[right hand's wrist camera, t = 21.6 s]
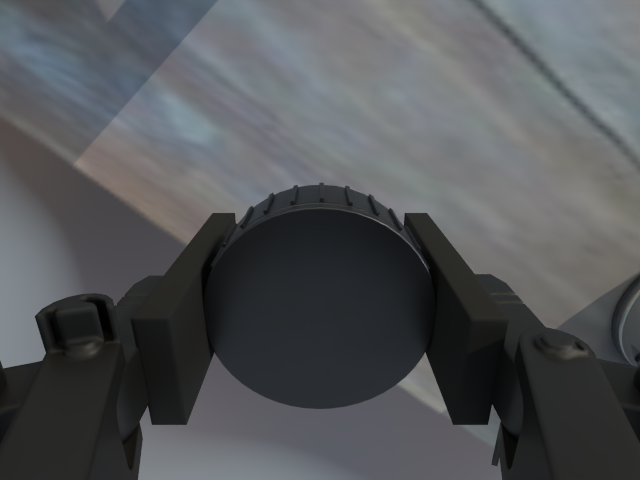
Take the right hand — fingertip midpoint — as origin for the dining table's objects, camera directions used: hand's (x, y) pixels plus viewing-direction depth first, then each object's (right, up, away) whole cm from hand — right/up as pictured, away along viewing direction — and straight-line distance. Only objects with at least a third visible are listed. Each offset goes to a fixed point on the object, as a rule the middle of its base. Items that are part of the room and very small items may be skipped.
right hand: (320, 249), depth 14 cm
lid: (0, -2, -4) cm, 4 cm away
